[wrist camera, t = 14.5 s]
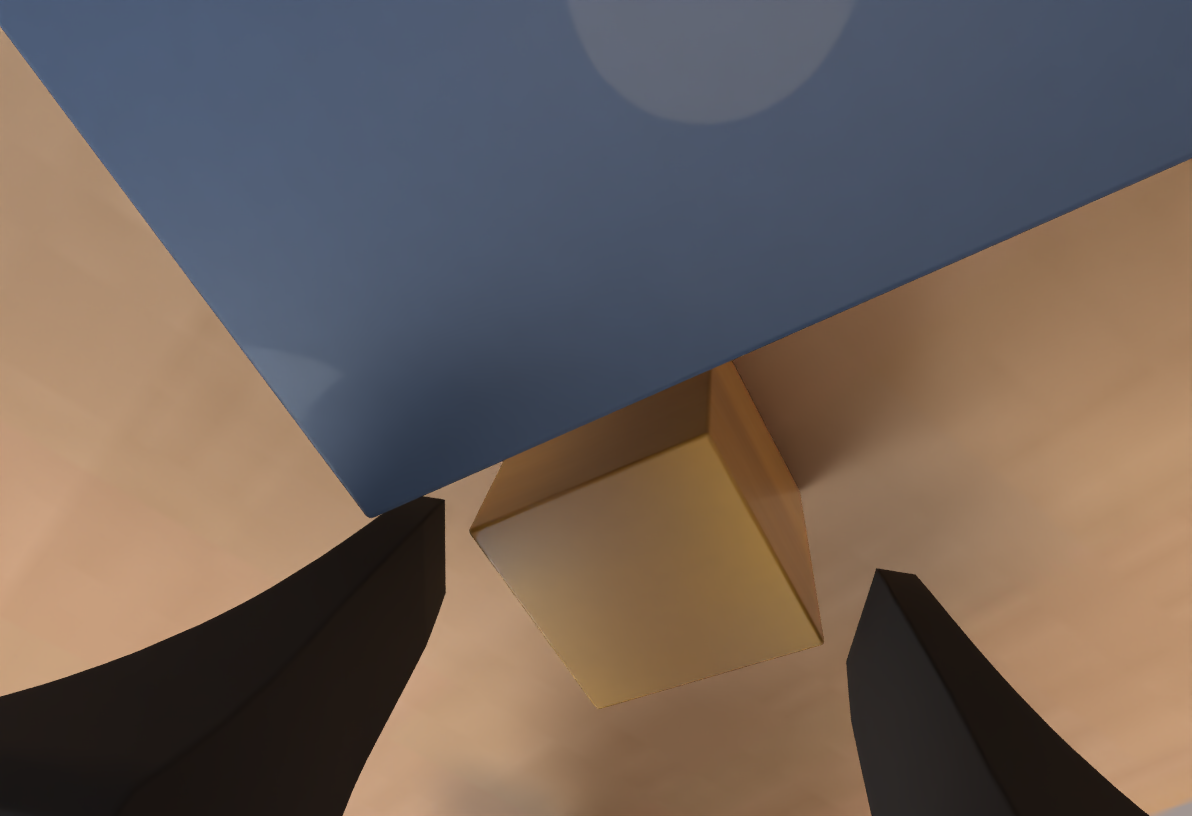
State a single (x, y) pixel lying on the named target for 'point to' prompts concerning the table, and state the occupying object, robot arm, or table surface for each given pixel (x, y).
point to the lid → (583, 182)
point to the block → (657, 542)
